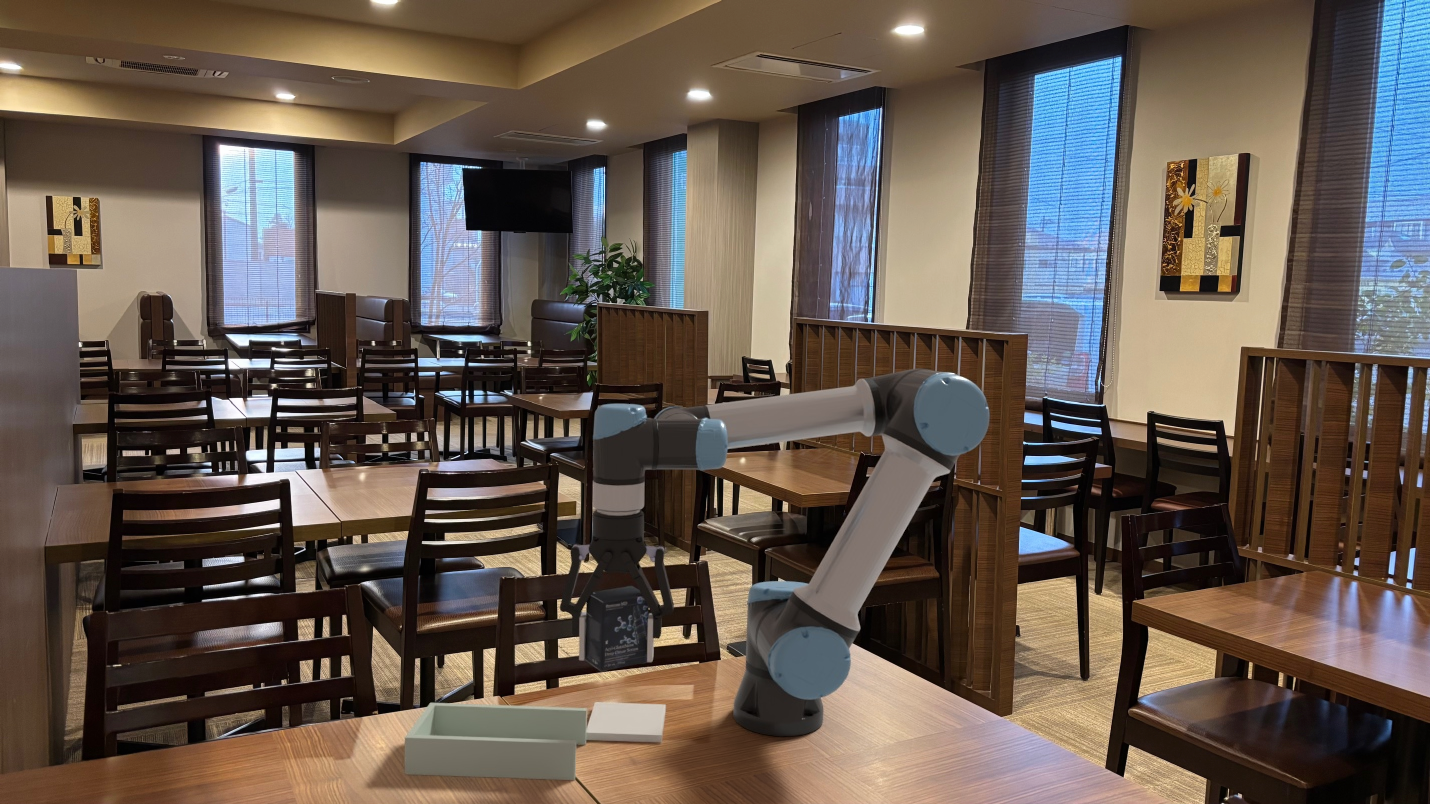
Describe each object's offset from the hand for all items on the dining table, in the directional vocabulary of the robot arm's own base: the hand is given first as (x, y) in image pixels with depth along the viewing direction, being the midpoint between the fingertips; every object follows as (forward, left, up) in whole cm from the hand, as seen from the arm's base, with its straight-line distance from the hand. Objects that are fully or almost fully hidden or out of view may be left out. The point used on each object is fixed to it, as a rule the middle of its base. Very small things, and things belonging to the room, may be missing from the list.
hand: (616, 657), depth 147 cm
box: (0, 0, -1) cm, 1 cm away
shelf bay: (+17, 0, -16) cm, 24 cm away
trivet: (-1, -13, -16) cm, 21 cm away
